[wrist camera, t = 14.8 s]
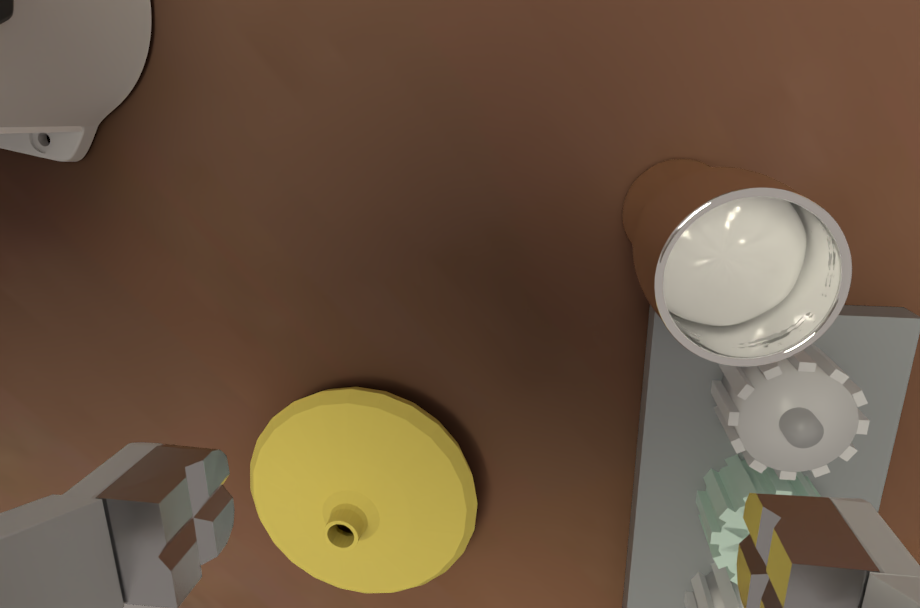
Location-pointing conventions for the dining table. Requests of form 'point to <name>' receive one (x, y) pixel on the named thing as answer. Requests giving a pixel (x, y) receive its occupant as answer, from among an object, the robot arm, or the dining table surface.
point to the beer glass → (735, 261)
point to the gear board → (708, 444)
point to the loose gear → (738, 505)
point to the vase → (363, 490)
